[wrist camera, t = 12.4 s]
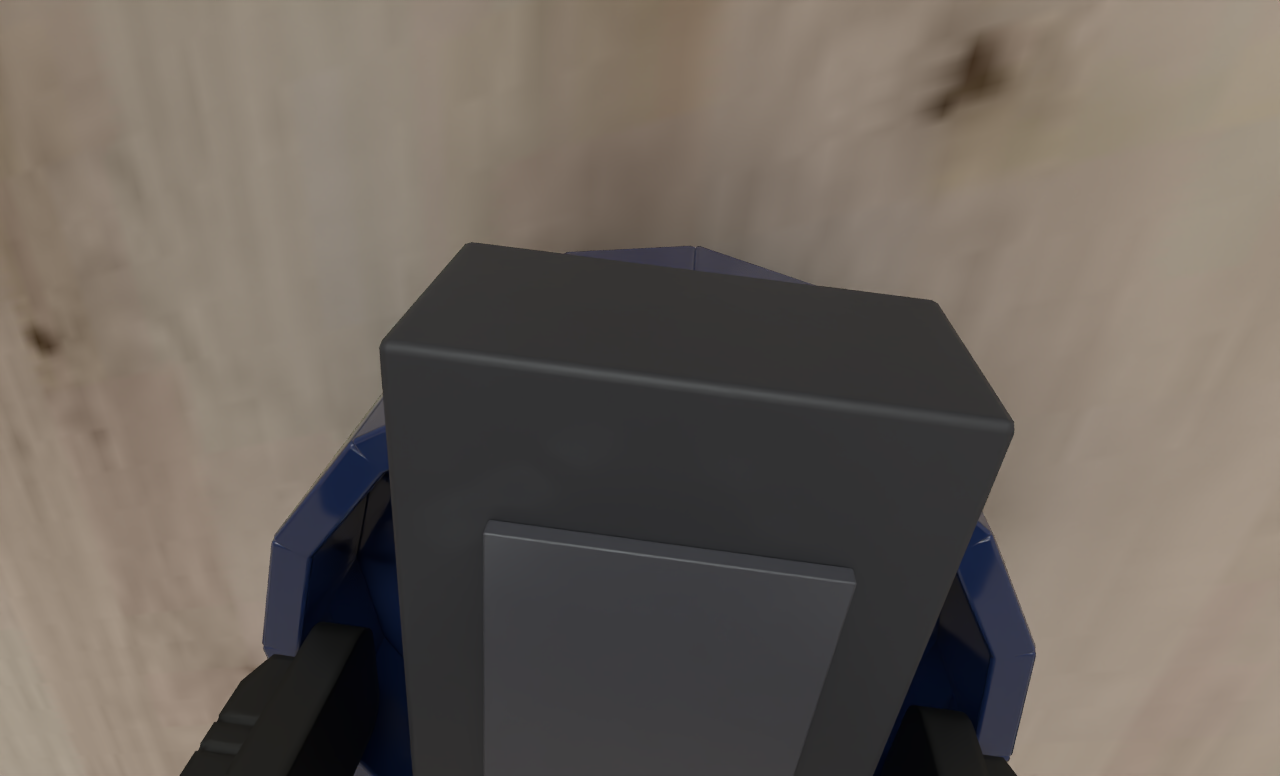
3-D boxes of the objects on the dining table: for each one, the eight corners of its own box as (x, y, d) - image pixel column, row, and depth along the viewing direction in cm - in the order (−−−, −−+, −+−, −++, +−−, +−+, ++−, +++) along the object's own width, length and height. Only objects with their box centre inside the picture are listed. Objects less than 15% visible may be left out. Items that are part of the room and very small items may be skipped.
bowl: (277, 380, 15) (102, 550, 11) (815, 119, 12) (873, 211, 8) (558, 726, 20) (515, 944, 15) (1003, 605, 16) (1108, 838, 12)
